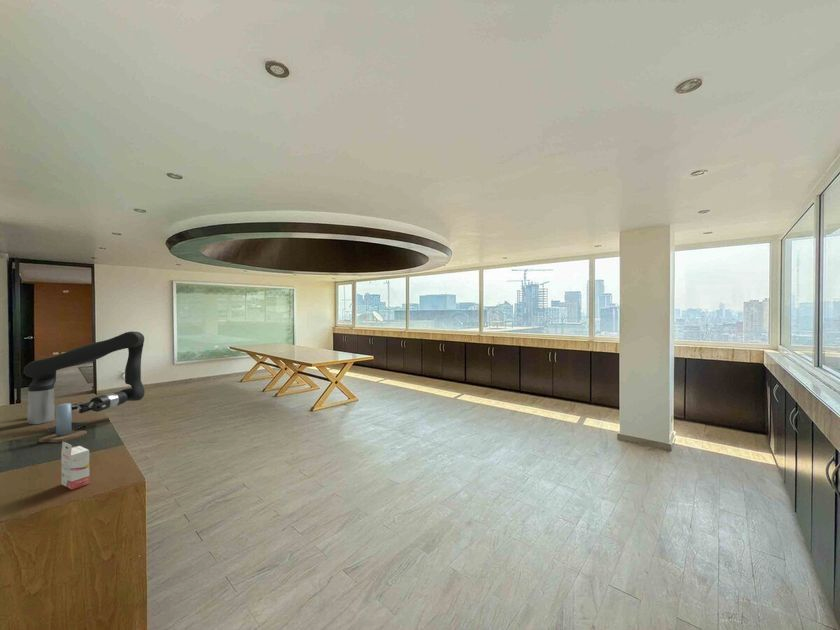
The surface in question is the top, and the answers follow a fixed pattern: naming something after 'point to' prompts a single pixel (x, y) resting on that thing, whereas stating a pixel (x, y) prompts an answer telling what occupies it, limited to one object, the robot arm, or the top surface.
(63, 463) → the ink cartridge box
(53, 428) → the square grey frame
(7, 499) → the top surface
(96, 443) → the top surface
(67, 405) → the canister
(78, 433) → the walnut board
